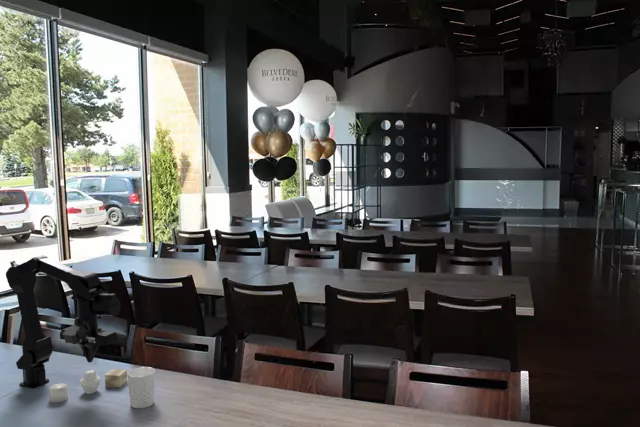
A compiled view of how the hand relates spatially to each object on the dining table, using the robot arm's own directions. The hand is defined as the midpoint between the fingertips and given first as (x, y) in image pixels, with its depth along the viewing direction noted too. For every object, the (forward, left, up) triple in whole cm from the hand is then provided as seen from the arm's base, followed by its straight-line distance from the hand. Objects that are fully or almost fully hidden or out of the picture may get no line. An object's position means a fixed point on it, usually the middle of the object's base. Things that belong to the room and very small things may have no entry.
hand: (90, 362), depth 178 cm
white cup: (+21, -1, -10) cm, 23 cm away
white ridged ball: (0, 0, -10) cm, 10 cm away
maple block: (+3, +8, -10) cm, 13 cm away
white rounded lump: (-5, -8, -10) cm, 14 cm away
